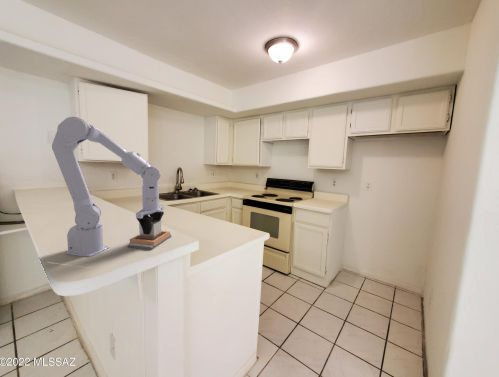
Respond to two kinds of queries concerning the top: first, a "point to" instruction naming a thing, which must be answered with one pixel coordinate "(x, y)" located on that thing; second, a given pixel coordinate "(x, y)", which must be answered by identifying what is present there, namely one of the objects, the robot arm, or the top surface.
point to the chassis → (148, 241)
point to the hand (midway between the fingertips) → (151, 231)
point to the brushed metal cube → (152, 230)
